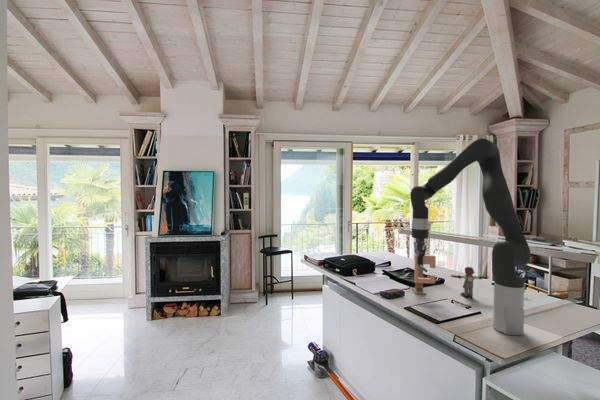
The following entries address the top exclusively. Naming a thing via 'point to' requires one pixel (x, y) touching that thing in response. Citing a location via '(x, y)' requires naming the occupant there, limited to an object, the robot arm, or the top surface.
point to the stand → (419, 286)
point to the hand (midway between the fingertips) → (419, 263)
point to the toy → (468, 282)
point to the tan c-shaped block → (430, 260)
